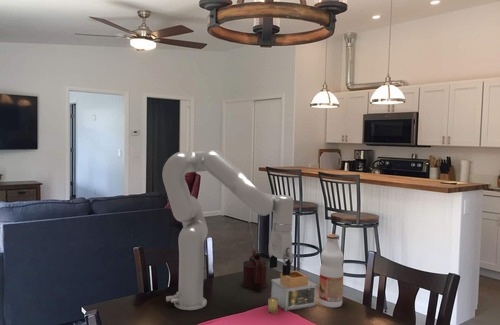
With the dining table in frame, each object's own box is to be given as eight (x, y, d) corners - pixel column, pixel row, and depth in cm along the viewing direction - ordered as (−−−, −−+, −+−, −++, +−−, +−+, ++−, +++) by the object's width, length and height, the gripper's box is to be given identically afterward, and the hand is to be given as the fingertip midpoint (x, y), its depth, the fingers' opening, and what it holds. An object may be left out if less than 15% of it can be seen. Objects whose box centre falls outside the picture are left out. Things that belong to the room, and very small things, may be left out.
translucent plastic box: (285, 310, 153) (286, 281, 153) (270, 299, 164) (271, 272, 164) (316, 305, 159) (317, 277, 159) (299, 295, 170) (300, 268, 170)
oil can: (271, 292, 172) (273, 235, 171) (246, 293, 170) (247, 235, 169) (257, 272, 200) (259, 222, 199) (236, 273, 198) (237, 223, 197)
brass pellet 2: (290, 303, 159) (291, 290, 159) (286, 299, 163) (287, 287, 163) (298, 302, 161) (299, 290, 161) (294, 299, 164) (295, 287, 164)
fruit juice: (337, 310, 156) (340, 238, 154) (315, 304, 161) (317, 235, 160) (345, 302, 163) (348, 234, 162) (324, 297, 169) (326, 231, 167)
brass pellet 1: (270, 314, 150) (271, 301, 149) (266, 310, 153) (266, 297, 153) (279, 313, 151) (279, 300, 151) (274, 309, 154) (275, 296, 154)
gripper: (262, 223, 160) (260, 265, 161) (285, 232, 145) (282, 279, 145) (279, 222, 163) (276, 264, 164) (302, 231, 148) (300, 277, 149)
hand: (279, 271), depth 155 cm, fingers open, 9 cm apart
